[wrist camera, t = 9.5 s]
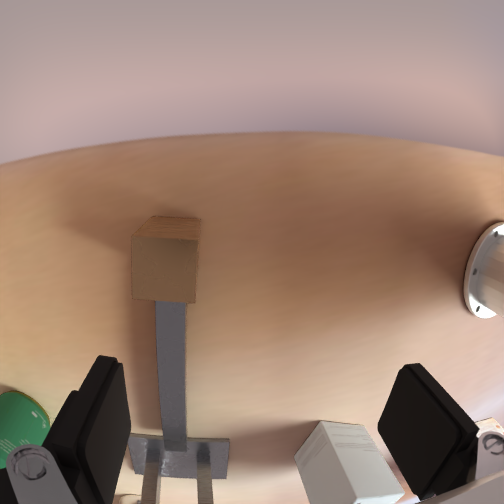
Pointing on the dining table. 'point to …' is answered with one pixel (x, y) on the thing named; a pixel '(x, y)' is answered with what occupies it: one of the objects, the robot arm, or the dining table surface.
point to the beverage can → (20, 423)
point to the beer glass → (130, 499)
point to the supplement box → (345, 467)
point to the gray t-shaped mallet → (168, 309)
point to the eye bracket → (178, 464)
